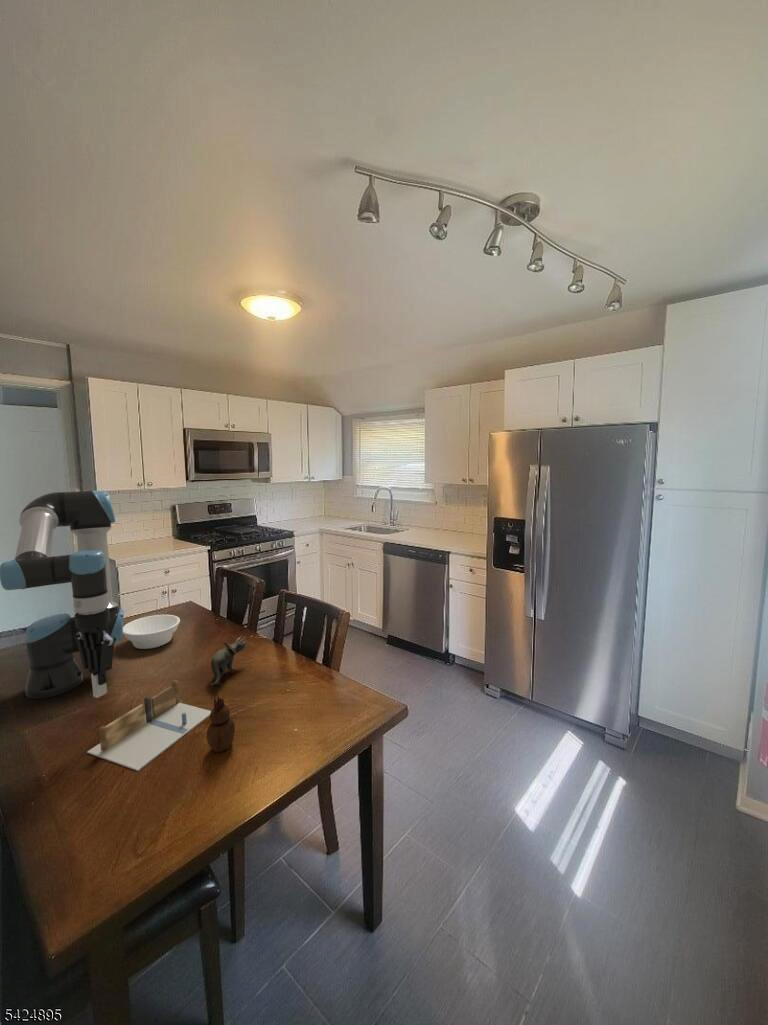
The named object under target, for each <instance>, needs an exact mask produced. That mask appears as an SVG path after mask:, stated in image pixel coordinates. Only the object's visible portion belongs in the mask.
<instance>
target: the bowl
mask: <svg viewBox="0 0 768 1025" xmlns="http://www.w3.org/2000/svg"><path fill="white" fill-rule="evenodd" d="M180 622H181V619H180V617H179V616H177V615H173V614H154V615H149V616H143V617H140V618H137V619H135V620H132V621H129V622H127V623H126V624H125V625H124V624H123V634H122V635H124V637H125V638H126V639H127V640H128V641H131V643H132V645H133V647H134V648H136V649H140V650H141V649H142V650H145V649H146V650H148V649H154V648H158V647H160V646H164V645H165V644H166V645H167V644H168V643H170V641H171V640H172V638H173V635H174V633H175V632H176V631H177V629H178V628H179V624H180Z"/></svg>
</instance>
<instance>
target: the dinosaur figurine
mask: <svg viewBox="0 0 768 1025" xmlns="http://www.w3.org/2000/svg"><path fill="white" fill-rule="evenodd" d="M243 636H244V635H243V634H242V635H241V636H240V637H238V638H237V639H236V640H235V642H234V643H232V644H230V643H229V642H227V641H224V642H223V643H224V646H225V647H226V648H222V649H220V650H218V651H216V652H215V654H214V655H213V656H212V658H211V661H210V668H211V671H212V673H213V676H214V677H213V678H212V680H213V681H214V682H213V683H212V682H211V683H210V684H209V686H215V685H217V686H222V683H221V682H220V681H221V679H222V676H223V675H224V674H225V673H226V670H228V671H229V674H234V673H235V672H236V671H237V669H236V668H233V667H232V665H233V661H234V659H235V658H234V657H235V655H237V654H239V653H240V652H242V651H243V650H245V649H246V648H247V643H246V641H245V639H246V636H244V637H243ZM242 637H243V639H241V638H242Z"/></svg>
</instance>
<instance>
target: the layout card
mask: <svg viewBox="0 0 768 1025" xmlns="http://www.w3.org/2000/svg"><path fill="white" fill-rule="evenodd" d="M210 713H211V710H210V709H209V710H208V709H205V708H200V707H197V706H194V705H190V704H186V703H183V702H180V701H179V703H177V704H175V705H174V706H172V707H171V708H169V709H168V710H166V711H165V712H163V713H162V714H160V715H159V716H157V717H156V718H153V717H152V721H151V722H149V723H147V722H146V723H145V724H143V725H142V726H140V727H139V728H137V729H136V730H134V731H133V732H131V733H130V734H128V735H127V736H125V737H124V738H122V739H121V740H119V741H118V742H117V743H115V744H114V745H112V746H111V747H109V748H108V749H107V750H105V751H101V745H100V743H98V744H97V745H95V746H93V747H92V748H90V749H89V750H87V751H86V752H87V754H89V755H92V756H94V757H98V758H100V759H103V760H105V761H108V762H112V763H114V764H117V765H119V766H123V767H125V768H128V769H131V770H134V771H137V772H140V771H141V770H142V769H143V768H145V767H146V766H147V765H148V764H150V763H151V762H152V761H153V760H155V759H156V758H157V757H158V756H160V755H161V754H162V753H164V752H165V751H166V750H167V749H169V748H170V747H171V746H173V745H174V744H175V743H177V741H179V740H180V739H181V738H183V737H184V736H186V735H187V734H188V733H189V732H191V731H192V730H193V729H194V728H196V727H197V726H198V725H199V724H201V723H202V722H204V721H206V719H208V718H210ZM145 718H146V714H145Z"/></svg>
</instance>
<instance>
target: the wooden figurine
mask: <svg viewBox="0 0 768 1025" xmlns="http://www.w3.org/2000/svg"><path fill="white" fill-rule="evenodd" d="M210 711H211V713H210V716H209V721H210V722H211V723H210V724H209V725H208V726H207V729H206V741H207V744H208V745H209V748H210V749H211V750H212V751H213V752H214V753H215V752H216V753H221V752H224V751H226V750H228V749H229V748H230V746H232V744H233V742H234V739H235V733H236V732H235V730H236V729H235V728H236V727H235V722H234V720H233V718H232V717H230V713H231V711H230V708H229V705H226V704H225V700H224V698H222V697H219V696H217V699H216V697H213V708H212V709H211V710H210Z"/></svg>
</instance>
